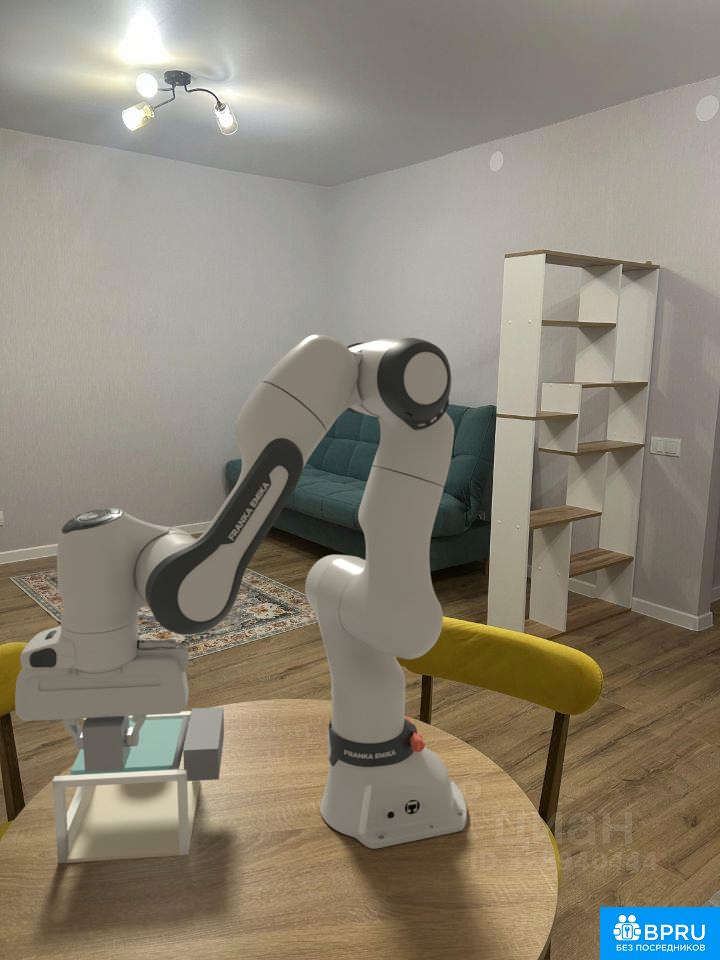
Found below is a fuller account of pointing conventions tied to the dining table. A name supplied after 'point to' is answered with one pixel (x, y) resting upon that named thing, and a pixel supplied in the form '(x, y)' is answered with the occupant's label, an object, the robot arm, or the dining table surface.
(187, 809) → the frame
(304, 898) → the dining table surface
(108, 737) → the grey block
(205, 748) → the trapdoor
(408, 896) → the dining table surface
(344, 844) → the dining table surface
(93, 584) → the robot arm
